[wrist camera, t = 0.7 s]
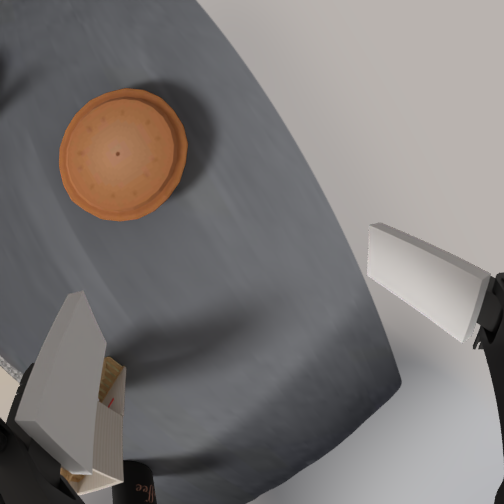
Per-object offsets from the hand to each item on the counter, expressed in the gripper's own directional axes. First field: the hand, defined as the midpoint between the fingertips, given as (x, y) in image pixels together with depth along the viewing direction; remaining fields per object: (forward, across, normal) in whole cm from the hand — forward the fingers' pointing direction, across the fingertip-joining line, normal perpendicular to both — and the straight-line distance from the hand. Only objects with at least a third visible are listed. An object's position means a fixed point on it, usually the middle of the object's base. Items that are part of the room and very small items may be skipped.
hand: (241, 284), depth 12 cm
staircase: (+26, -23, -25) cm, 42 cm away
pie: (+26, -7, +7) cm, 28 cm away
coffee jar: (+25, -31, -60) cm, 72 cm away
